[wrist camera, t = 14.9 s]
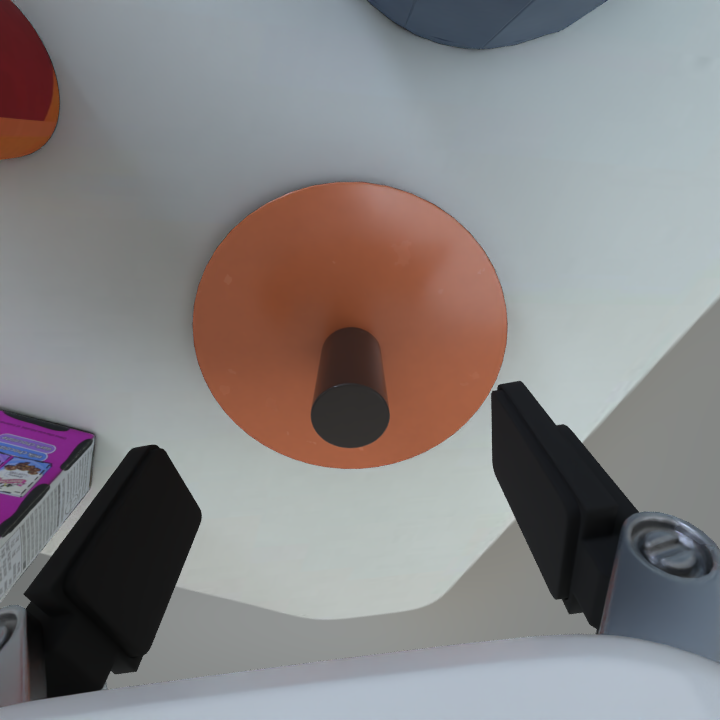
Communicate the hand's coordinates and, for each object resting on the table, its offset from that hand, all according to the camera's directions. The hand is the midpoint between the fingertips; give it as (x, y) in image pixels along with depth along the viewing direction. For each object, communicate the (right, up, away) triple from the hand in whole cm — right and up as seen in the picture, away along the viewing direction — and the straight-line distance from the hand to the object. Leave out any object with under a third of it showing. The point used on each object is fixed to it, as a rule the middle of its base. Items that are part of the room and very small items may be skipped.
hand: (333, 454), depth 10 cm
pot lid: (0, +3, +7) cm, 8 cm away
